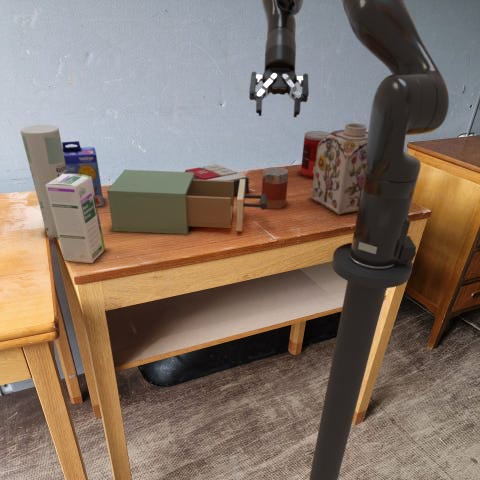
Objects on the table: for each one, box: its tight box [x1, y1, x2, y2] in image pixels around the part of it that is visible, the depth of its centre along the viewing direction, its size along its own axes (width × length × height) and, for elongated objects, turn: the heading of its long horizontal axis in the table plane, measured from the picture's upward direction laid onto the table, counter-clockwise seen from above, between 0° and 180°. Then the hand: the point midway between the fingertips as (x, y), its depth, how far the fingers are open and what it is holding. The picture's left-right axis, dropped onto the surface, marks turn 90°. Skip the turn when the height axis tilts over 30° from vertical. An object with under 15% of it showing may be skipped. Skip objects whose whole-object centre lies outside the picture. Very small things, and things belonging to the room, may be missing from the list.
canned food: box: [300, 130, 331, 180], centre depth 123 cm, size 8×8×11 cm
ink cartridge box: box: [61, 140, 105, 208], centre depth 100 cm, size 10×6×14 cm, turn 108°
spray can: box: [20, 124, 67, 239], centre depth 86 cm, size 6×6×20 cm
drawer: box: [186, 179, 268, 232], centre depth 95 cm, size 19×12×7 cm, turn 87°
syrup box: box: [45, 174, 106, 264], centre depth 79 cm, size 6×6×14 cm
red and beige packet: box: [184, 163, 250, 196], centre depth 114 cm, size 11×4×15 cm
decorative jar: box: [311, 122, 368, 216], centre depth 103 cm, size 12×12×18 cm
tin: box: [261, 166, 289, 210], centre depth 104 cm, size 6×6×8 cm
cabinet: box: [106, 169, 195, 235], centre depth 95 cm, size 16×14×9 cm
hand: (277, 114), depth 106 cm, fingers open, 8 cm apart
